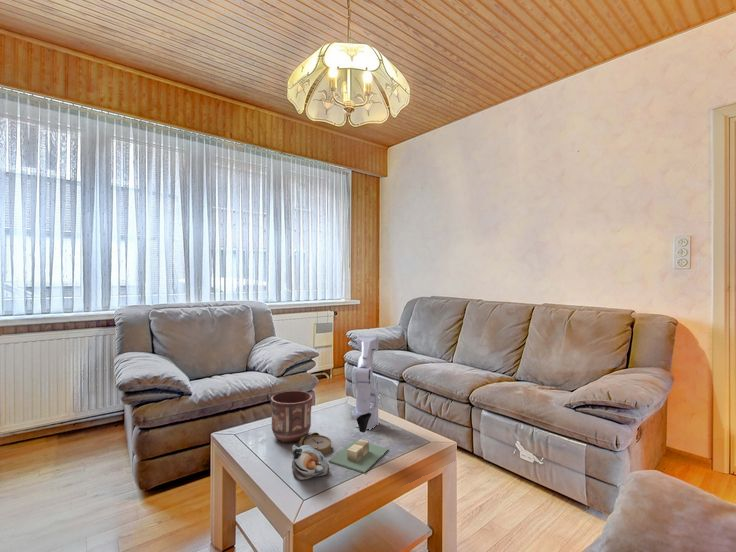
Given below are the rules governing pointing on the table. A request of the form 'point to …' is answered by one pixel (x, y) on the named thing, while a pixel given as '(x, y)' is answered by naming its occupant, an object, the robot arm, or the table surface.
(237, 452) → the table surface
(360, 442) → the birch block
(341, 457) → the rubber mat
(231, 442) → the table surface
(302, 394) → the pottery
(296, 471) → the lucky cat figurine
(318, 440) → the alarm clock
